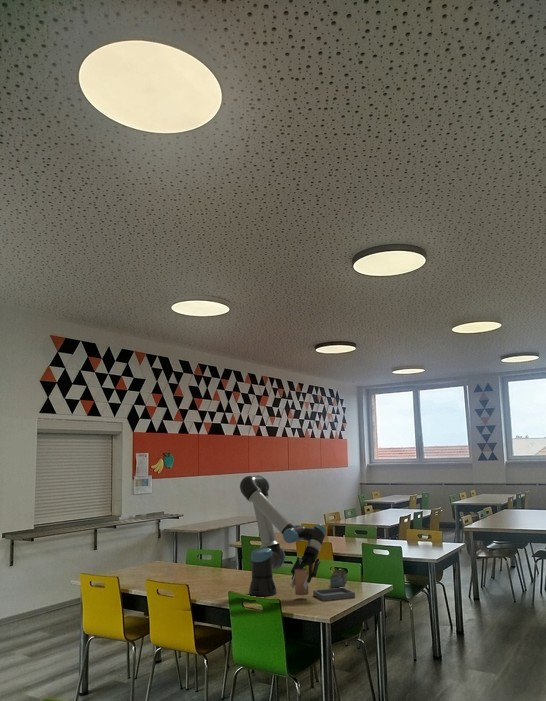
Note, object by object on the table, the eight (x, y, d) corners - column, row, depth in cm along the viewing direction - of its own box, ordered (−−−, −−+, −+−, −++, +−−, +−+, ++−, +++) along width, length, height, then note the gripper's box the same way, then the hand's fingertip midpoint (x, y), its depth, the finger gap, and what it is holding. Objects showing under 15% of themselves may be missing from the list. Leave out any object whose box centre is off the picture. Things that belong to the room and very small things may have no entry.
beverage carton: (330, 588, 318) (329, 576, 319) (333, 582, 336) (333, 570, 338) (344, 588, 316) (343, 575, 318) (347, 582, 335) (346, 570, 336)
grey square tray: (313, 595, 299) (313, 590, 300) (343, 592, 304) (343, 587, 305) (323, 600, 286) (323, 595, 286) (355, 597, 291) (354, 592, 291)
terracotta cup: (293, 593, 295) (292, 568, 298) (305, 591, 297) (305, 567, 300) (297, 595, 289) (297, 570, 291) (310, 594, 291) (309, 569, 294)
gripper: (330, 555, 304) (317, 593, 288) (299, 553, 315) (284, 589, 298) (325, 546, 301) (312, 583, 284) (294, 544, 312) (279, 580, 295)
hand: (298, 586), depth 291 cm, fingers closed on terracotta cup, 7 cm apart
